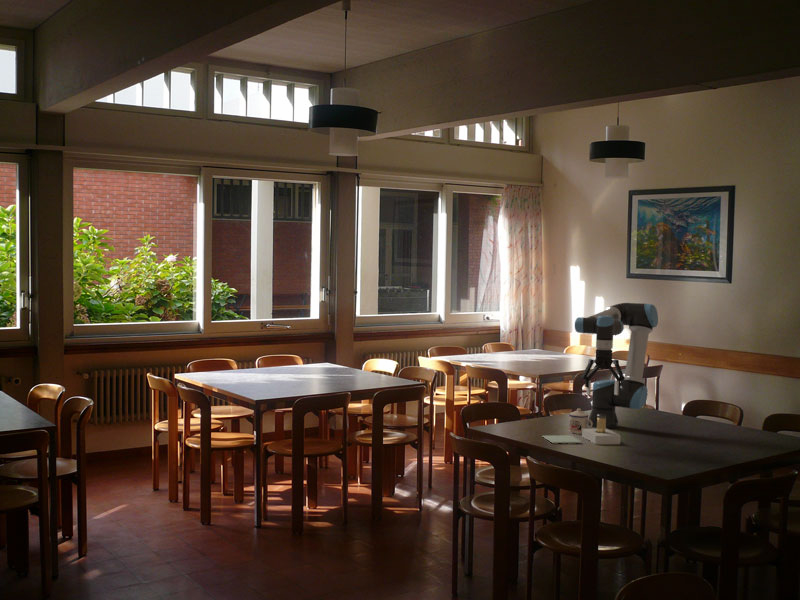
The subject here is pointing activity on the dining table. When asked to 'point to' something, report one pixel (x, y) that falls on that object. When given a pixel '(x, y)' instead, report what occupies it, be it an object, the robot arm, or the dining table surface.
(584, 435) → the white flat block
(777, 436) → the dining table surface
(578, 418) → the teacup with lid
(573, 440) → the mat
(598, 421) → the yellow tall cylinder
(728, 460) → the dining table surface
